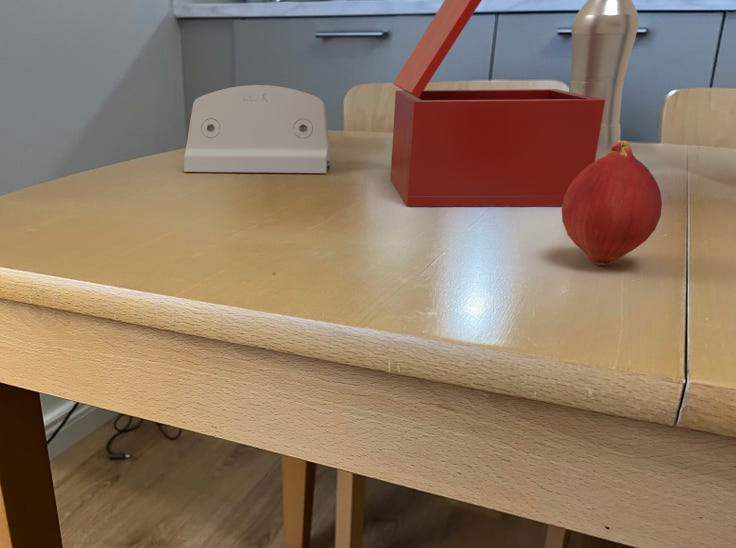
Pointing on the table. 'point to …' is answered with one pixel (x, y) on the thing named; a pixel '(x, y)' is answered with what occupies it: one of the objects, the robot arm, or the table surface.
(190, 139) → the white curved plastic bracket
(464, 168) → the open red box
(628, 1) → the silver metal bottle
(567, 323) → the table surface
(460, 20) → the box door
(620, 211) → the onion
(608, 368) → the table surface
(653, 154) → the table surface
